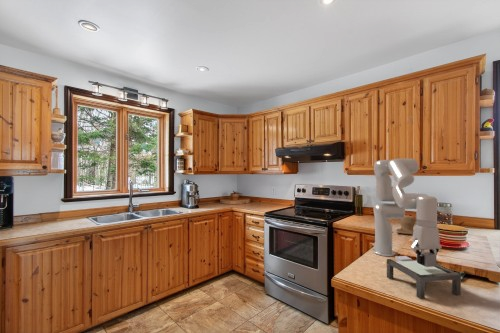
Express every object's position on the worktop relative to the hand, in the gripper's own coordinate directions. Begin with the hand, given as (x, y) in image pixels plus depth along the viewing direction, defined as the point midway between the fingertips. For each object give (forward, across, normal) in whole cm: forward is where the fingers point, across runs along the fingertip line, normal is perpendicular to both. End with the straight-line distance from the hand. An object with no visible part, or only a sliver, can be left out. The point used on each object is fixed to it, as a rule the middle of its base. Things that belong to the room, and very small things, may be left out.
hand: (426, 263), depth 106 cm
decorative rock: (+12, -25, -13) cm, 31 cm away
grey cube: (+1, 0, 0) cm, 1 cm away
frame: (+12, 0, -3) cm, 12 cm away
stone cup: (+13, -61, -80) cm, 101 cm away
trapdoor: (+5, 0, -5) cm, 7 cm away
